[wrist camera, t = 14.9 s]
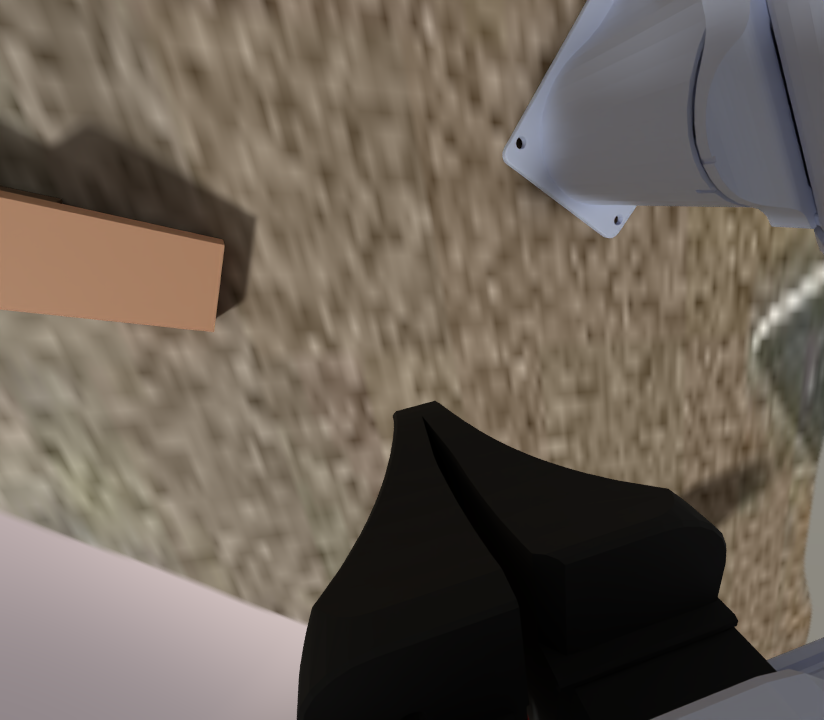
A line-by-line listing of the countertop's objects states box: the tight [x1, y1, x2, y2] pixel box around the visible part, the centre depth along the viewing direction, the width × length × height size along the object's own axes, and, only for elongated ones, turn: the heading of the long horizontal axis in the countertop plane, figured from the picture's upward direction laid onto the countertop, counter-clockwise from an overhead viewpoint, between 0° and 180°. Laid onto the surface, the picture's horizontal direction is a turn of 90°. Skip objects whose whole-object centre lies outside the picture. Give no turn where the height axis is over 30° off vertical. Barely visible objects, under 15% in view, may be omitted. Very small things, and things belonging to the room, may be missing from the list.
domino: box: [0, 190, 225, 332], centre depth 16 cm, size 2×4×8 cm
